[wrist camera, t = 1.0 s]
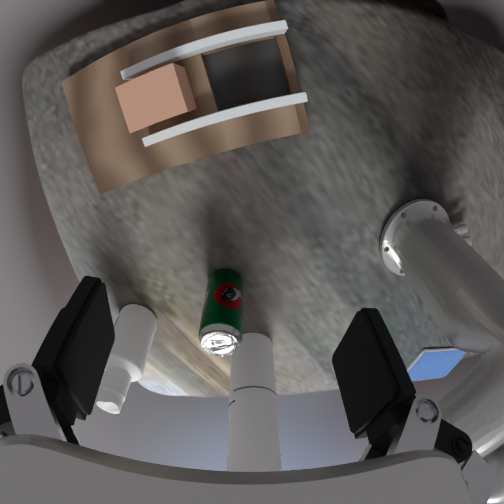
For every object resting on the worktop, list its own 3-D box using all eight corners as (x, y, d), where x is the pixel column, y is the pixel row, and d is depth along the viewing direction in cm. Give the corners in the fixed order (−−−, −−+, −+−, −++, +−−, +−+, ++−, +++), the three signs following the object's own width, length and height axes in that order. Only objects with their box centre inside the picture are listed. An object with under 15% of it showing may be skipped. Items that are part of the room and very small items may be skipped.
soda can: (203, 270, 40) (190, 333, 30) (237, 263, 40) (234, 326, 29) (214, 297, 43) (206, 360, 32) (247, 290, 42) (247, 354, 32)
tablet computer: (469, 344, 55) (471, 347, 54) (443, 374, 61) (445, 377, 60) (421, 346, 53) (423, 351, 51) (394, 379, 59) (395, 383, 58)
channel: (282, 25, 22) (285, 20, 20) (303, 101, 27) (307, 101, 25) (129, 72, 24) (120, 71, 22) (152, 143, 29) (144, 147, 27)
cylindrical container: (225, 350, 49) (217, 483, 28) (243, 327, 46) (242, 475, 25) (259, 361, 51) (263, 488, 30) (280, 340, 48) (293, 479, 27)
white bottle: (113, 312, 45) (77, 398, 29) (136, 296, 43) (99, 390, 27) (141, 336, 48) (115, 421, 32) (165, 322, 46) (141, 416, 30)
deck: (272, 4, 22) (273, -1, 20) (306, 129, 30) (310, 131, 28) (70, 81, 25) (61, 82, 24) (107, 188, 33) (100, 194, 32)
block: (184, 67, 24) (172, 62, 20) (197, 108, 27) (187, 111, 23) (133, 87, 25) (114, 87, 21) (146, 126, 28) (129, 133, 23)
